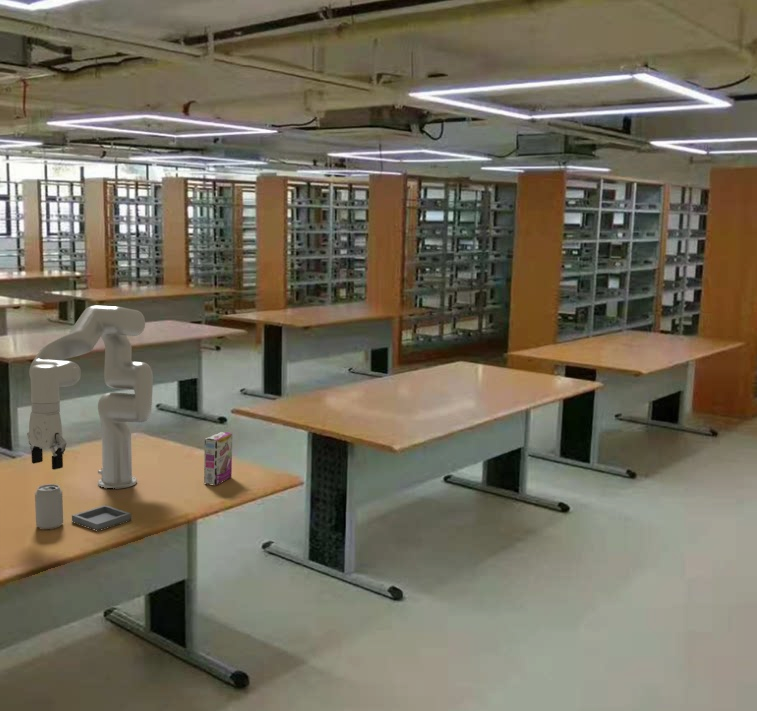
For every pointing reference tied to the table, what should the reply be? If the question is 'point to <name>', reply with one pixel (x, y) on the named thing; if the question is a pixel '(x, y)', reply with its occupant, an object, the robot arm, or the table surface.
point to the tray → (101, 517)
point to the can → (49, 506)
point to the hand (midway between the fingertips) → (47, 465)
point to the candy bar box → (218, 458)
